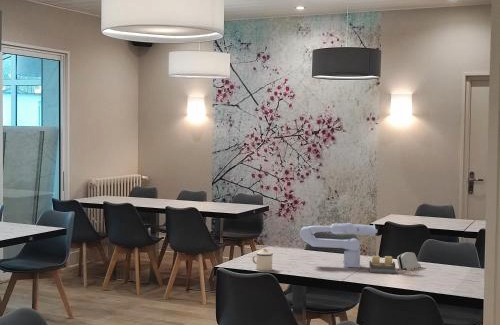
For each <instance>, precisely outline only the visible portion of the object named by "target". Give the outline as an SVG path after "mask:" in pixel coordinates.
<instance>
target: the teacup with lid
mask: <svg viewBox="0 0 500 325" xmlns="http://www.w3.org/2000/svg"><path fill="white" fill-rule="evenodd" d="M255 257H256V260H255ZM251 260H252V262H253V264H255V265H256V270H257V271H263V272H264V271H265V272H268V271H271V270H273V252H272V251H269V250H267V248H266V247H263V248H262V249H261V250H260V251H257V252H256V255H255V254H254V255H252V259H251Z"/></svg>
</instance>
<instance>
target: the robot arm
mask: <svg viewBox="0 0 500 325" xmlns="http://www.w3.org/2000/svg"><path fill="white" fill-rule="evenodd" d="M372 224H373V225H370V224H359V223H357V224H356V223H354V224H352V223H351V222H343V223H337V222H334V223H332V224H331V225H309V226H306V225H305V226H302V227H301V228H300V230H299V236H300V238H301V240H302V241H304V242H305V243H307V244H308V245H310V246H311V247H315V248H333V249H334V248H336V249H345V250H344V252H343V262H342V263H343V267H344V268H360V269H361V266H362V265H361V249H360V247H361V244H360V241H359V239H358V238H356V237H355V238H354V237H352V238H349V239H336V238H335V239H334V238H319V237H318V238H317V237H316V236H315V235H314V234H317V233H324V232H326V233H327V232H331V233H332V234H336V235H338V234H345V233H346V234H347V235H352V234H356V235H362V236H363V235H364V236H371V237H374V236H376V237H380V236H383V235H385V236H386V235H391V230H390V229H387V228H383V227H380V225H379V226H378V225H376V224H375V223H372Z"/></svg>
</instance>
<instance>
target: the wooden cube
mask: <svg viewBox="0 0 500 325" xmlns="http://www.w3.org/2000/svg"><path fill="white" fill-rule="evenodd" d="M371 258H372V260H371V262H372V264H380V263H381V261H380V255H372V257H371Z"/></svg>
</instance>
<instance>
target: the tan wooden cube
mask: <svg viewBox="0 0 500 325" xmlns="http://www.w3.org/2000/svg"><path fill="white" fill-rule="evenodd" d="M384 263H385V264H390V265H392V263H393V256H390V255H385V256H384Z"/></svg>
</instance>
